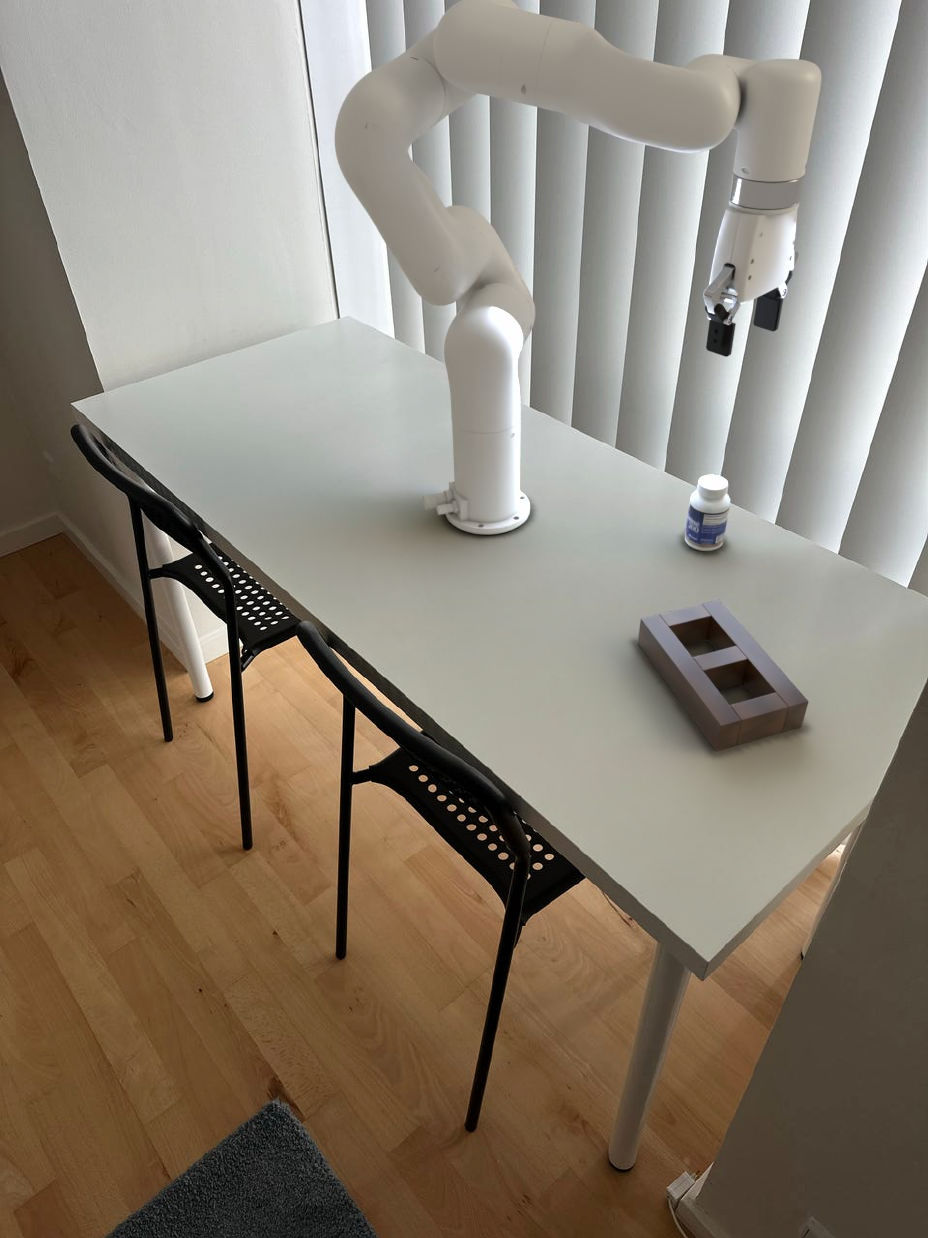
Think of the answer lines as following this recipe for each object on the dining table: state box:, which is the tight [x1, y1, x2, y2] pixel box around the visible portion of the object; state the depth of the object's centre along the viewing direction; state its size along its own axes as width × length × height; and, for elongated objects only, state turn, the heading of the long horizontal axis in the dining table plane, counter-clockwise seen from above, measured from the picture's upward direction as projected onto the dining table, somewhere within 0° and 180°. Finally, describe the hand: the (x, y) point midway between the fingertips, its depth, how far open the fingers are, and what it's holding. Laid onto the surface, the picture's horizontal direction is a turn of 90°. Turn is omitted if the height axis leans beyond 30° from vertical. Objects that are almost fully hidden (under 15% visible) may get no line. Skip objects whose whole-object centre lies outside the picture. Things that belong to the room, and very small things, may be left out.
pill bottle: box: [684, 474, 731, 552], centre depth 131 cm, size 5×5×10 cm
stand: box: [637, 599, 809, 752], centre depth 110 cm, size 11×19×4 cm, turn 18°
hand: (742, 340), depth 115 cm, fingers open, 9 cm apart
